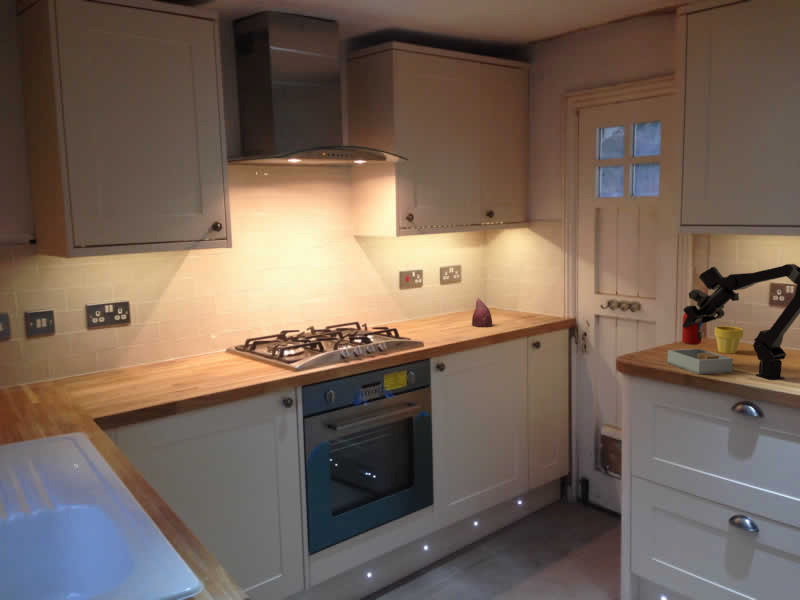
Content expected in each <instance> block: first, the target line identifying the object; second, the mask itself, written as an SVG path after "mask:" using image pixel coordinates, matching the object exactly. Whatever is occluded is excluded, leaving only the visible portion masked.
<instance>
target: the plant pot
mask: <svg viewBox="0 0 800 600" xmlns="http://www.w3.org/2000/svg"><path fill="white" fill-rule="evenodd" d="M714 336H715V338H716V339H715V340H716V345H717V351H718V353H721V352H722V354H729V353H733V354H736V353H737V351H738V348H739V346H740V341H741V339H743V336H744V329H743V328H741V327H735V326H729V325H728V326H726V325H717V326H715V327H714Z"/></svg>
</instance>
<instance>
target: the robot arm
mask: <svg viewBox="0 0 800 600" xmlns="http://www.w3.org/2000/svg"><path fill="white" fill-rule="evenodd" d="M785 277H786V278H787V279H789V280H790V281H791V282H792V283H793V284H794V285H796V287H795V292H794V295H793V298H792V299H791V300H790V302H789V303H788V304H787V305H786V307H785V309H784V310H783V311H782V312H781V314H780V315H779V316H778V318H777V319H776V320H775V322H774V323H773V325H772V326H771V328H770V329H764V330H760V331H759V333H758V335H757V336H756V337H755V338H754V339H753V341H754V342H753V344H752V345H753V346H752V347H753V350H754V351H755V353H756V356H757V360H758V361H759V365H758V373H755V376H756V377H760V378H762V379H767V380H779V379H781V380H782V379H785V376H782V365H783V364H782V363H783V361H782V360H784V359H785V358H786V356H787V353H786V352H785V350H784V349H783V348H782V347H781V345H782V343H783V340H784V336H785V334H786V333H787V331H788V330H789V329H790V328H791V325H793V323H794V322H795V321H796V319H797V318H798V317H799V315H800V266H798V265H797V264H795V263H786V264H783V265H782V266H777V267H772V268H767V269H763V270H759V271H756V272H746V273H741V272H740V273H735V274H733V273H732V274H728V275H727V276H723V275H722V274H721V273H720V271H719V270H718V268H717V267H716V266H712V267H710V268H709V269H706V270H705V271H703V272H702V273H700V274H699V276H698V279H699V280H700V281H701V283H703V284H704V286H705V287H706V288H707V289H708V290H709V291H710V290H712V291H713V292H712V293H711V294H707V293H706V292H704V291H702V290H701V289H698V288H697V289H691V290H690V291H689V292H688V298H689V299H690V300H692V301H694V302H696V305H697V306H696V305H686V306H685V307H684V308H683V313H684V314H685V313H686V314H687V318H686V320H685V322H684V324H683V323H682V327H684V328H686V327H688V326H691V325H694V324H696V323H699V322H700V320H701V319H702V325H704V324H706V323H709V322H712V321H716V320H718V319H722V318H723V317H724V316H725V311H724V308H725V305H726V304H727V303H728V302H729V301H732V302H736V301H740V297H739V295H740V294H739V293H738V292H735V291H740V290H741V291H742V290H745V289H748V288H749V287H750V288H751V287H752V286H755V285H756V284H758V283H763V282H769V281H771V280H776V279H781V278H785ZM698 307H699V308H698Z"/></svg>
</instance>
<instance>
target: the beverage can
mask: <svg viewBox="0 0 800 600" xmlns="http://www.w3.org/2000/svg"><path fill="white" fill-rule="evenodd" d="M686 318H687V314H686V313H685V312H684V314H683V316H682V325H683V324H684V322H685V320H686ZM681 329H682V330H681V333H682V334H681V342H682V343H683V344H685V345H689V346H697V345H699V344H701V343H702V337H703V335H702V334H703V324H702V319H701V320H700V322H699V323H696V324H694V325H691V326H688V327H686V328H684V327H683V326H682V328H681Z"/></svg>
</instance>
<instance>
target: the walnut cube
mask: <svg viewBox="0 0 800 600" xmlns="http://www.w3.org/2000/svg"><path fill="white" fill-rule="evenodd" d="M712 353H713V352H712ZM712 353H698V354H697V359H699V360H704V359H719V356H718V355H715V354H712Z"/></svg>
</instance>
